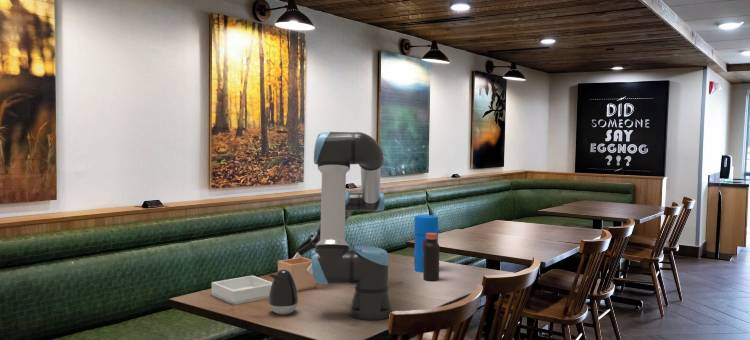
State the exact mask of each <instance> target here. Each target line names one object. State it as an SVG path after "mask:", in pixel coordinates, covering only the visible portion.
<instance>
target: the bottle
mask: <svg viewBox="0 0 750 340" xmlns="http://www.w3.org/2000/svg"><path fill="white" fill-rule="evenodd" d="M426 240H427V242H426V243H425V244H424V267H423V272H422V273H423V274H422V275H423V276H422V277H423V280H424V281H428V282H437V281H439V280H440V244H439V242H438V243H437V242H436V240H437V233H426Z"/></svg>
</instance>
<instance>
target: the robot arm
mask: <svg viewBox="0 0 750 340" xmlns="http://www.w3.org/2000/svg"><path fill="white" fill-rule="evenodd" d="M313 163H314V165H317V170H318V171H319V172H320V173H321V199H320V200H321V201H320V203H321V204H320V226H319V227H318V229H317V230H316V233H317V234H316V235H315V236H314V235H313V234H311V235H309V237H308V238H307V239H305V241H303V242H302V243H301V244H300V245H298V246H297V247H296V248H295V249H294V251H295V252H296V253H295V254H294V256H293V257H292V259H294V258H301V257H303V255H304V254H306V253H307V252H309V251H310V250H311V253H310V255H311V261H312V263H311V265H310V266H309V267H308V269H307V270H306V271H307V272H308V273H309V274H312V273H313V276H314V279H315V281H316V284H321V285H354V294H353V297H352V300H351V303H350V305H349V315H350V317H352V318H353V317H354V319H355V318H356V319H358V320H359V319H360V320H366V321H367V320H368V321H375V320H377V321H378V320H384V319H388V318H390V317H389V314H390V312H392V311H393V312H394V306H393V303H392V299H391V296H390V294H389V293H390V292H389V265H390V262H389V254H388V251H387V250H385V249H383V248H382V247H377V246H371V245H355V248H354V250H351V249H350V244H349V243H348V242H347V241H346V240H345V239H346V237H345V236H346V222H347V221H348V219H349V217H350V216H351V215H352V214H353V213H354V212H382V211H384V210H385V193H383V192H381V173H382V172H381V168H382V166H383V165H384V151H383V149H382V148H381V145H380V144H379V143H378V142H377V140H376V139H374V138H373V137H372V136H370V135H369V134H367V133H364V132H359V131H354V132H349V131H327V132H320V133H318V135H317V136H316V139H315V144H314V149H313ZM351 165H358V166H359V167H360V181H361V183H360V184H361V186H360V189H361V192H349V191H347V190H346V188H347V187H346V186H347V185H346V182H347V181H346V180H347V179H346V178H347V177H346V175H347V173H348V172H350V171H351Z"/></svg>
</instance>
